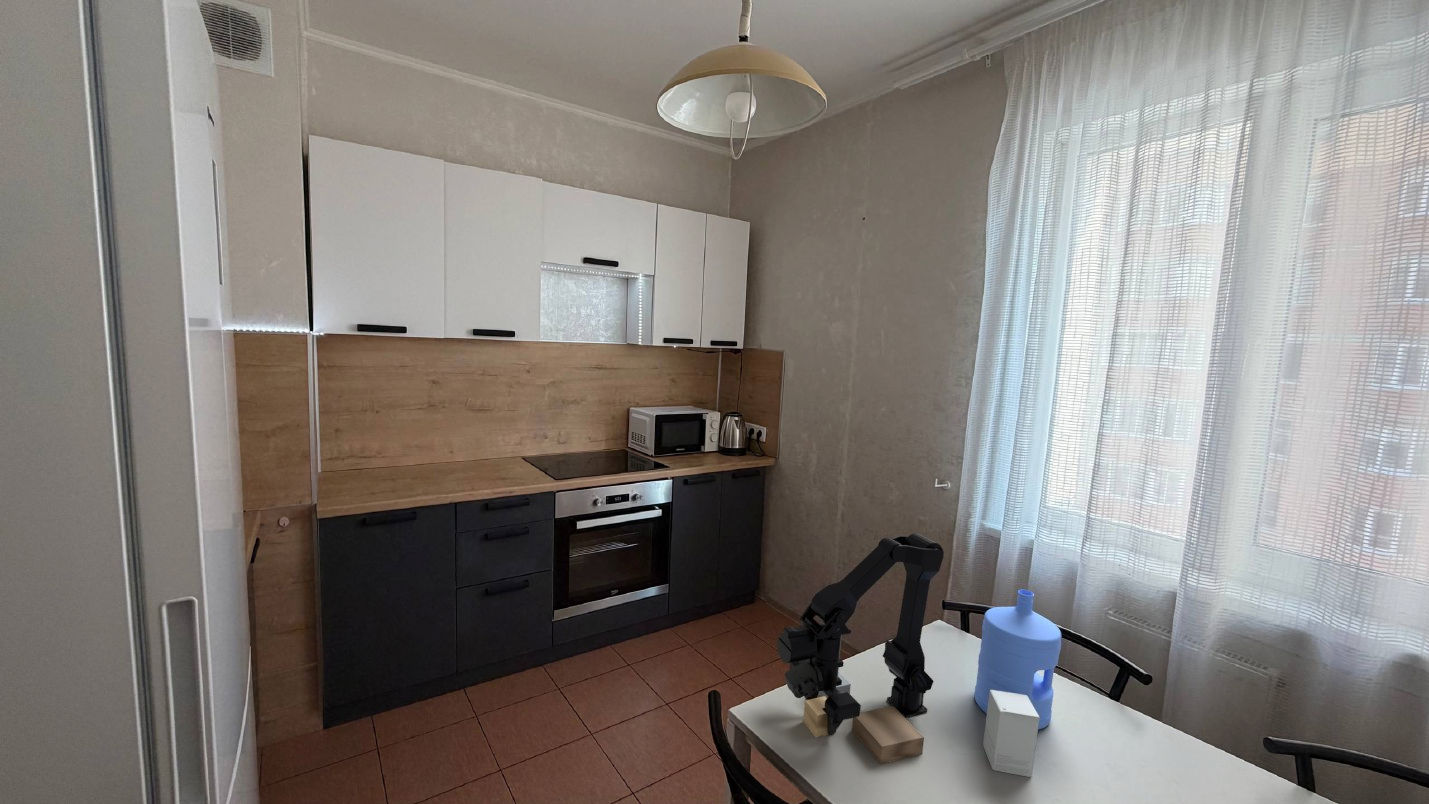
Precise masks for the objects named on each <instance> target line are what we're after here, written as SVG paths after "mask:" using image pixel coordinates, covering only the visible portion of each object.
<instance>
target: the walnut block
mask: <svg viewBox="0 0 1429 804" xmlns="http://www.w3.org/2000/svg"><path fill="white" fill-rule="evenodd" d="M851 731H852V732H853V733H854V734H855V736H856V737H857V738H858V739H859V740H860V741H861V743H862V744H863V745H864V747H866V749H867V750H868V752H870V754H872V756H873V757H874V758H875V760H876V761H878V763H879V764H880V765H883V764H886V763H890V762H895V761H899V760H903V759H908V758H910V757H912V758H913V757H916V756H920V755H923V751H924V750H923V749H924V743H925V736H923V734H921V732H920V731H919V730H918V729H917V728H916V727H915V726H914V725H913V724H911V722H909V720H908V719H907V718H906V717H905V716H903V715H902V714H901V713H900V712H899V711H898V710H897V709H896V708H895V707H894V706H893V705H891V706H886V707H881V708H876V709H872V710H871V709H870V710H866V711H862V712H861V711H860V716H858V717H854V718H852V726H851Z"/></svg>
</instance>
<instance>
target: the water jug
mask: <svg viewBox="0 0 1429 804" xmlns="http://www.w3.org/2000/svg"><path fill="white" fill-rule="evenodd" d="M1034 597H1035V594H1034V592H1032V591H1030V590H1027V589H1019V590H1018V591H1017V597H1016V605H1015V606H996V607H992V608H989V609H988V610H986V611H985V613H984V617H983V621H982V627H981V631H982V633H981V634H982V635H981V642H980V650H979V654H978V660H977V661H978V662H977V663H978V664H977V666H978V667H977V676H976V683H975V685H974V692H973V693H974V699H975V702H976V704H977V706H978V707H979V708H980V709H981V710H982V711H983V712H984V713H985V714H986V715H987V709H988V700H989V693H990V690H996V691H1003V692H1009V693H1016V694H1022V695H1027V696H1028V698H1029V700H1030V701H1031V703H1032V705H1033V707H1034V708H1035V710H1036V712H1037V714H1038V715H1039V717H1040V718H1039V726H1038V730H1042V729H1045V728H1046V727H1047V726H1048V725H1050V722H1051V720H1052V714H1053V713H1052V708H1053V707H1052V706H1053V699H1054V694H1055V693H1054V688H1053V681H1054V680H1053V679H1054V672H1055V667H1056V666H1058V664H1059V658H1060V657H1059V656H1060V653H1061V648H1062V631H1061V630H1060V628H1059V627H1058V626H1057V625H1056V624H1055V623H1054V622H1052V621H1051V620H1049V619H1048V618H1046V617H1045V616H1042V615H1040V614H1039V613H1037V612H1035V611H1034V610H1033V604H1034ZM1039 671H1043V676H1042V675H1040V674H1039V673H1038V672H1039Z"/></svg>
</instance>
